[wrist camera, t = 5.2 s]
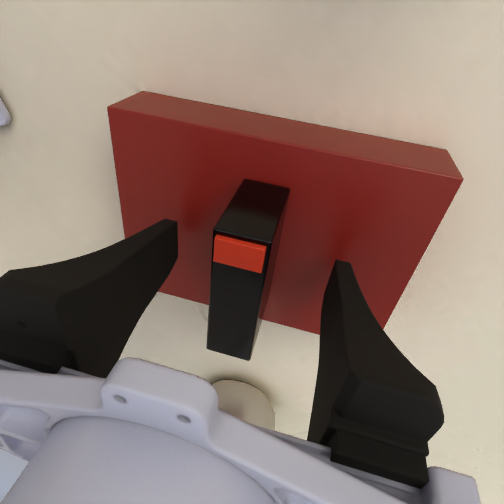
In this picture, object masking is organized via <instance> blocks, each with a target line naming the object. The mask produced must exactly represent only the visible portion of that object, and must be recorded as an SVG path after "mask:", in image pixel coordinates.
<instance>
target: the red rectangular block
mask: <svg viewBox="0 0 504 504" xmlns="http://www.w3.org/2000/svg"><path fill="white" fill-rule="evenodd" d="M107 109H108V117H109V124H110V131H111V139H112V146H113V154H114V161H115V168H116V176H117V183H118V190H119V198H120V205H121V212H122V220H123V227H124V234H125V239H126V238H128V237H130V236H132V235H134V234H136V233H138V232H140V231H142V230H144V229H146V228H148V227H149V226H151V225H153V224H155V223H157V222H159V221H161V220H163V219H169V220H174V221H178V258H177V260H176V262H175V265H174V267H173V269H172V270H171V272H170V274H169V276H168V277H167V279H166V280H165V282H164V283H163V285H162V286H161V287H160V289H159V290H158V292H162V293H165V294H169V295H173V296H177V297H180V298H184V299H188V300H192V301H195V302H199V303H203V304H207V305H209V296H210V278H211V261H212V243H213V228H214V227H215V225H216V224H217V222H218V220H219V219H220V217H221V215H222V214H223V212H224V211H225V209H226V207H227V206H228V204H229V202H230V201H231V199H232V198H233V196H234V194H235V193H236V191H237V190H238V188H239V186H240V185H241V183H242V181H243V180H244V179H250V180H254V181H259V182H264V183H268V184H273V185H277V186H282V187H286V188H290V195H289V200H288V205H287V210H286V215H285V220H284V224H283V229H282V234H281V239H280V244H279V249H278V254H277V259H276V263H275V268H274V273H273V278H272V283H271V288H270V293H269V297H268V301H267V305H266V308H265V311H264V315H263V318H262V319H263V320H266V321H270V322H274V323H278V324H281V325H285V326H289V327H293V328H296V329H300V330H304V331H308V332H311V333H315V334H319V335H320V321H321V309H322V303H323V297H324V292H325V289H326V286H327V283H328V280H329V277H330V274H331V271H332V269H333V266H334V263H335V260H336V259H337V260H341V261H345V262H350V263H351V265H352V268H353V271H354V274H355V276H356V279H357V282H358V284H359V286H360V289H361V291H362V293H363V295H364V297H365V300H366V302H367V304H368V306H369V307H370V309H371V311H372V313H373V315H374V316H375V318H376V320H377V321H378V323H379V324H380V326H381V327H382V329H384V327H385V325H386V323H387V321H388V319H389V317H390V316H391V314H392V312H393V310H394V308H395V306H396V304H397V302H398V301H399V299H400V297H401V295H402V293H403V291H404V289H405V288H406V286H407V284H408V282H409V280H410V278H411V276H412V275H413V273H414V271H415V269H416V267H417V265H418V263H419V261H420V260H421V258H422V256H423V254H424V252H425V250H426V248H427V247H428V245H429V243H430V241H431V239H432V237H433V235H434V234H435V232H436V230H437V228H438V226H439V224H440V222H441V221H442V219H443V217H444V215H445V213H446V211H447V209H448V207H449V206H450V204H451V202H452V200H453V198H454V196H455V194H456V193H457V191H458V189H459V187H460V185H461V183H462V181H463V177H462V175H461V174H460V172H459V170H458V168H457V167H456V165H455V163H454V161H453V160H452V158H451V156H450V154H449V153H448V151H447V150H444V149H439V148H434V147H429V146H423V145H418V144H413V143H408V142H403V141H398V140H393V139H387V138H382V137H377V136H372V135H367V134H362V133H357V132H351V131H346V130H341V129H336V128H331V127H326V126H320V125H315V124H310V123H305V122H300V121H295V120H290V119H284V118H279V117H274V116H269V115H264V114H259V113H254V112H248V111H243V110H238V109H233V108H228V107H223V106H218V105H212V104H207V103H202V102H197V101H192V100H187V99H182V98H176V97H171V96H166V95H161V94H156V93H151V92H145V91H141V92H139V93H137V94H135V95H132V96H130V97H128V98H126V99H124V100H121V101H119V102H117V103H115V104H112V105H110V106H108V107H107Z"/></svg>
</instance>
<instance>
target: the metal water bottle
mask: <svg viewBox="0 0 504 504" xmlns="http://www.w3.org/2000/svg"><path fill="white" fill-rule="evenodd" d="M212 386H213V387H214V388H215V389H216V392H217V395H218V398H219V399H218V408H220V409H222V410H224V411H226V412H228V413H229V414H231V415H233V416H235V417H237V418H239V419H241V420H243V421H245V422H247V423H250V424H254V425H257V426H260V427H264V428H267V429H270V430H274V429H275V412H274V410H273V407H272V405H271V402H270V400H269V399H268V397H267V396H266V395H265V394H264V393H263V392H261V391H260V390H259V389H257V388H255V387H253V386H251V385H249V384H247V383H243V382H240V381H235V380H221V381H217V382H215V383H213V384H212Z"/></svg>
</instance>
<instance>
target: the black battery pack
mask: <svg viewBox="0 0 504 504" xmlns="http://www.w3.org/2000/svg"><path fill="white" fill-rule="evenodd" d="M289 195H290V188H286V187H282V186H277V185H273V184H268V183H264V182H259V181H254V180H250V179H244V180H243V181H242V183H241V185H240V186H239V188H238V190H237V191H236V193H235V194H234V196H233V198H232V199H231V201H230V202H229V204H228V206H227V207H226V209H225V211H224V212H223V214H222V215H221V217H220V219H219V220H218V222H217V224H216V225H215V227H214V228H213V243H212V261H211V278H210V296H209V314H208V331H207V349H209V350H212V351H216V352H219V353H223V354H226V355H230V356H233V357H237V358H240V359H244V360H247V361H249V360H250V359H251V356H252V352H253V349H254V345H255V342H256V339H257V335H258V332H259V328H260V325H261V322H262V318H263V315H264V311H265V308H266V305H267V301H268V297H269V293H270V288H271V283H272V278H273V273H274V268H275V263H276V259H277V254H278V249H279V244H280V239H281V234H282V229H283V224H284V220H285V215H286V210H287V205H288V200H289Z"/></svg>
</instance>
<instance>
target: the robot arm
mask: <svg viewBox="0 0 504 504" xmlns="http://www.w3.org/2000/svg"><path fill="white" fill-rule="evenodd" d="M10 122H11V116H10V114H9V112H8V110H7V108H6V107H5V105H4V103H3V101H2V100H1V98H0V126H4V125H7V124H9V123H10ZM177 258H178V221H174V220H169V219H163V220H161V221H159V222H157V223H155V224H153V225H151V226H149V227H148V228H146V229H144V230H142V231H140V232H138V233H136V234H134V235H132V236H130V237H128V238H126V239H124V240H122V241H120V242H118V243H115V244H113V245H111V246H109V247H106V248H104V249H101V250H98V251H96V252H93V253H90V254H87V255H84V256H80V257H77V258H73V259H70V260H66V261H62V262H57V263H53V264H48V265H43V266H37V267H30V268H23V269H16V270H9V271H8V272H7V273H5V274H4V275H3V276H2V277H0V449H2V450H5V451H7V452H9V453H11V454H13V455H16V456H18V457H20V458H22V459H24V460H26V461H29V463H28V465H27V466H26V468H25V469H24V471H23V472H22V473H21V475H20V476H19V478H18V479H17V481H16V482H15V483H14V485H13V486H12V488H11V489H10V490H9V492H8V493H7V495H6V496H5V498H4V499H3V501H2V502H1V503H0V504H481V501H480V497H479V493H478V489H477V485H476V481H475V479H474V478H473V477H471V476H468V475H465V474H461V473H458V472H455V471H451V470H448V469H445V468H441V467H428V468H427V464H426V457H427V456H428V455H429V449H428V443H427V442H428V441H429V440H430V439H431V438H432V437H433V435H434V434H435V433H436V432H437V431H438V430H439V429H440V428H441V426H442V425H443V423H444V414H443V409H442V404H441V401H440V398H439V395H438V392H437V389H436V386H435V385H434V384H433V383H432V382H431V381H429V380H428V379H427V378H426V377H425V376H424V375H423V374H422V373H421V372H420V371H418V370H417V369H416V368H415V367H414V366H413V365H412V364H411V363H410V361H409V360H408V359H407V358H406V357H405V356H404V355H403V354H402V353H401V352H400V351H399V349H398V348H397V347H396V346H395V345H394V343H393V342H392V341H391V340H390V338H389V337H388V336H387V335H386V333H385V332H384V330H383V329H382V327H381V326H380V324H379V323H378V321H377V320H376V318H375V316H374V315H373V313H372V311H371V309H370V307H369V306H368V304H367V302H366V300H365V297H364V295H363V293H362V291H361V289H360V286H359V284H358V282H357V279H356V276H355V274H354V271H353V268H352V265H351V263H350V262H345V261H341V260H337V259H336V260H335V263H334V266H333V269H332V271H331V274H330V277H329V280H328V283H327V286H326V289H325V292H324V297H323V303H322V309H321V321H320V350H319V366H318V373H317V380H316V387H315V394H314V400H313V407H312V413H311V419H310V425H309V431H308V437H307V441H306V440H303V439H300V438H297V437H293V436H290V435H287V434H283V433H280V432H277V431H274V430H270V429H267V428H264V427H260V426H257V425H254V424H250V423H247V422H245V421H243V420H241V419H239V418H237V417H235V416H233V415H231V414H229V413H228V412H226V411H224V410H222V409H220V408H218V399H219V398H218V395H217V392H216V389H215V388H214V387H213V386H212V385H211V384H210V383H209V382H208V381H207V380H205V379H203V378H200V377H198V376H196V375H193V374H190V373H186V372H183V371H180V370H176V369H173V368H169V367H166V366H163V365H159V364H156V363H152V362H149V361H145V360H142V359H138V358H130V357H127V358H123V359H121V360H118V359H119V357H120V355H121V353H122V351H123V349H124V347H125V345H126V343H127V341H128V339H129V337H130V335H131V333H132V331H133V330H134V328H135V326H136V324H137V322H138V320H139V319H140V317H141V315H142V314H143V312H144V310H145V309H146V307H147V306H148V305H149V303H150V302H151V300H152V299H153V297H154V296H155V295H156V293H157V292H158V290H159V289H160V287H161V286H162V285H163V283H164V282H165V280H166V279H167V277H168V276H169V274H170V272H171V270H172V269H173V267H174V265H175V262H176V260H177ZM425 456H426V457H425Z"/></svg>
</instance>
